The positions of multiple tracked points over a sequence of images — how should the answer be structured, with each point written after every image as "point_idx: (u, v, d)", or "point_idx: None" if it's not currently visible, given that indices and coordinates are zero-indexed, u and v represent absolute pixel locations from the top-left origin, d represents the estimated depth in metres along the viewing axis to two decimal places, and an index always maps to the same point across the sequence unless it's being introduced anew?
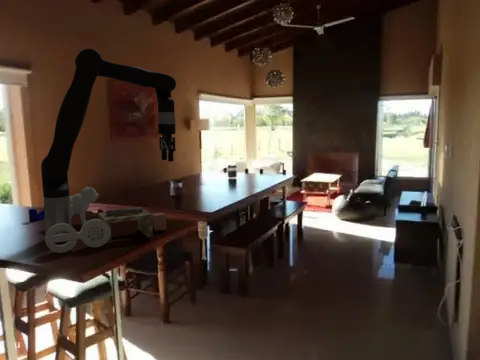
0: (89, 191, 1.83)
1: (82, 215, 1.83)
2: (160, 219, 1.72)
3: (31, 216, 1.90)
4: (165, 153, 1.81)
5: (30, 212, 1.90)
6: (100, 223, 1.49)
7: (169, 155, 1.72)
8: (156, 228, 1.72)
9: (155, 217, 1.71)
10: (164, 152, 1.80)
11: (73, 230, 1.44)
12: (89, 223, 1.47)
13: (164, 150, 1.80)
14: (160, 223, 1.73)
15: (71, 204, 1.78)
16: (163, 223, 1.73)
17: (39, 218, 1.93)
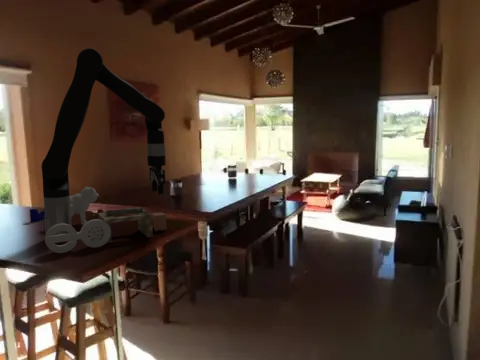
0: (89, 191, 1.83)
1: (82, 215, 1.83)
2: (160, 219, 1.72)
3: (32, 216, 1.90)
4: (155, 184, 1.77)
5: (31, 212, 1.90)
6: (101, 223, 1.49)
7: (159, 188, 1.69)
8: (156, 228, 1.72)
9: (155, 217, 1.71)
10: (154, 183, 1.77)
11: (73, 230, 1.44)
12: (89, 223, 1.47)
13: (154, 181, 1.77)
14: (160, 223, 1.73)
15: (71, 204, 1.78)
16: (163, 223, 1.73)
17: (40, 218, 1.93)
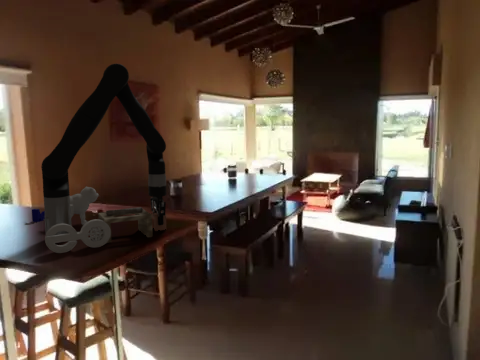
0: (89, 191, 1.83)
1: (82, 215, 1.83)
2: None
3: (34, 216, 1.90)
4: None
5: (33, 212, 1.90)
6: (101, 223, 1.49)
7: (159, 219, 1.71)
8: (156, 228, 1.72)
9: (155, 217, 1.71)
10: None
11: (73, 230, 1.44)
12: (89, 223, 1.47)
13: (156, 212, 1.77)
14: None
15: (71, 204, 1.78)
16: None
17: (42, 218, 1.93)
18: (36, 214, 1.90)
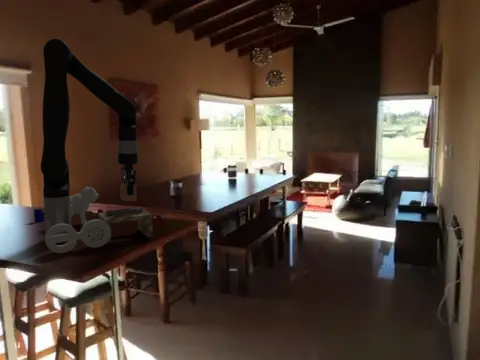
0: (89, 191, 1.83)
1: (82, 215, 1.83)
2: None
3: (36, 216, 1.90)
4: None
5: (35, 212, 1.90)
6: (101, 223, 1.49)
7: (128, 188, 1.61)
8: (125, 198, 1.61)
9: (124, 186, 1.61)
10: None
11: (73, 230, 1.44)
12: (89, 223, 1.47)
13: (126, 182, 1.67)
14: None
15: (71, 204, 1.78)
16: (133, 193, 1.63)
17: (44, 218, 1.93)
18: (38, 214, 1.89)
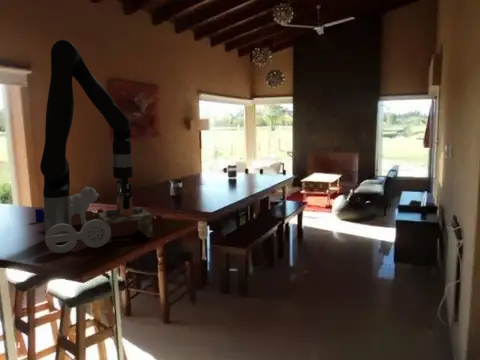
0: (89, 191, 1.83)
1: (82, 215, 1.83)
2: None
3: (38, 216, 1.90)
4: None
5: (37, 212, 1.89)
6: (101, 223, 1.49)
7: (124, 202, 1.60)
8: (121, 212, 1.60)
9: (120, 200, 1.60)
10: None
11: (73, 230, 1.44)
12: (89, 223, 1.47)
13: (122, 195, 1.66)
14: None
15: (71, 204, 1.78)
16: (130, 207, 1.62)
17: None
18: (40, 214, 1.89)
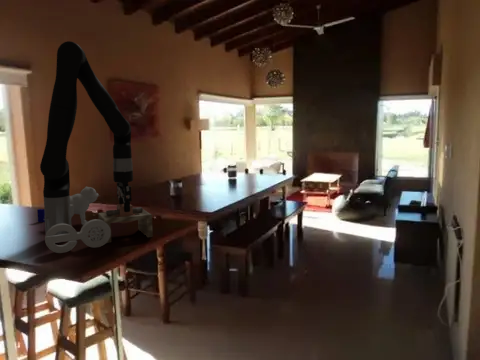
0: (89, 191, 1.83)
1: (82, 215, 1.83)
2: None
3: (40, 216, 1.90)
4: (123, 201, 1.67)
5: (39, 212, 1.89)
6: (101, 223, 1.49)
7: (125, 205, 1.59)
8: None
9: (120, 208, 1.60)
10: (122, 199, 1.67)
11: (73, 230, 1.44)
12: (89, 223, 1.47)
13: (122, 197, 1.67)
14: (126, 215, 1.61)
15: (71, 204, 1.78)
16: (130, 215, 1.62)
17: None
18: (42, 214, 1.89)
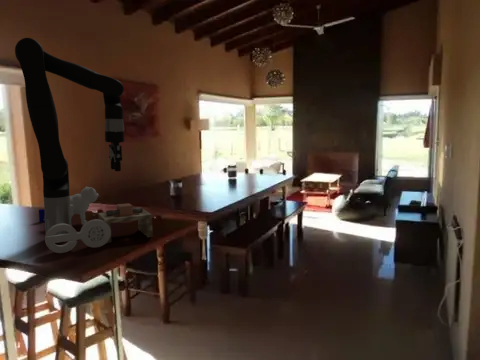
0: (89, 191, 1.83)
1: (82, 215, 1.83)
2: (126, 210, 1.61)
3: (41, 216, 1.89)
4: (114, 162, 1.71)
5: (40, 212, 1.89)
6: (101, 223, 1.49)
7: (116, 164, 1.62)
8: None
9: (120, 208, 1.60)
10: (113, 161, 1.70)
11: (73, 230, 1.44)
12: (89, 223, 1.47)
13: (113, 159, 1.71)
14: (126, 215, 1.61)
15: (71, 204, 1.78)
16: (130, 215, 1.62)
17: None
18: (43, 214, 1.89)
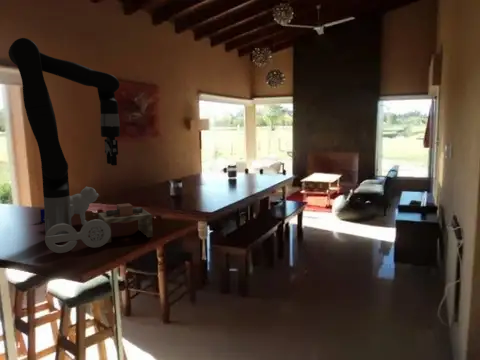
0: (89, 191, 1.83)
1: (82, 215, 1.83)
2: (126, 210, 1.61)
3: (43, 216, 1.89)
4: (110, 156, 1.73)
5: (42, 212, 1.89)
6: (101, 223, 1.49)
7: (112, 159, 1.65)
8: None
9: (120, 208, 1.60)
10: (109, 155, 1.73)
11: (73, 230, 1.44)
12: (89, 223, 1.47)
13: (109, 153, 1.73)
14: (126, 215, 1.61)
15: (71, 204, 1.78)
16: (130, 215, 1.62)
17: None
18: None
